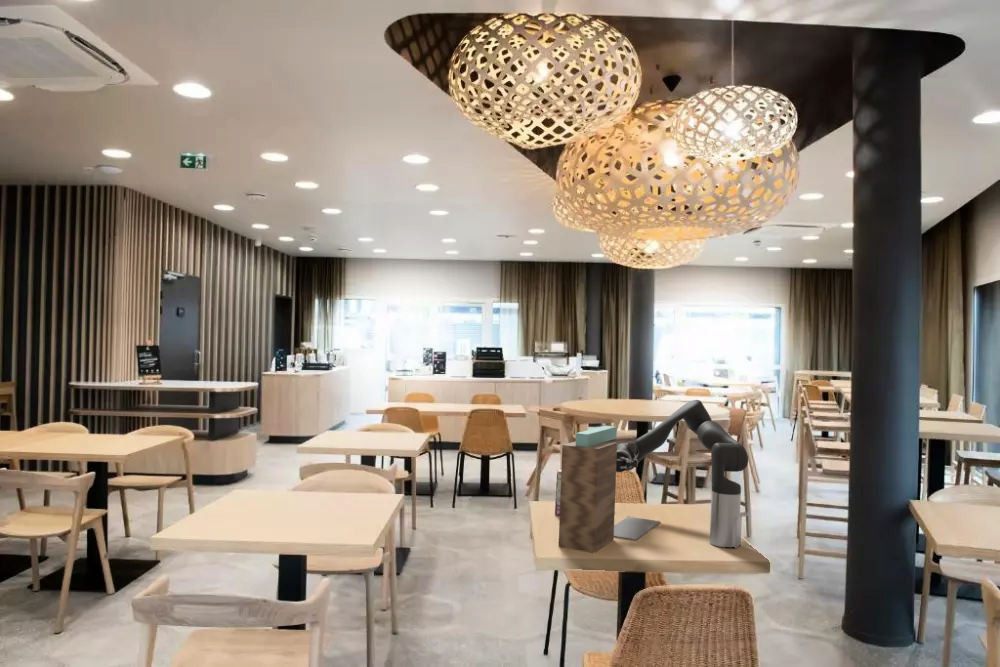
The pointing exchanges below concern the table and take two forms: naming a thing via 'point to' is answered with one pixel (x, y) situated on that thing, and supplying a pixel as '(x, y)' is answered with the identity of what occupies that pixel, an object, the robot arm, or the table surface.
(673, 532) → the table surface
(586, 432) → the teal bar
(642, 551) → the table surface
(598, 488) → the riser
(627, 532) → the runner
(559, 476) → the candy bar box
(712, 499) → the robot arm
